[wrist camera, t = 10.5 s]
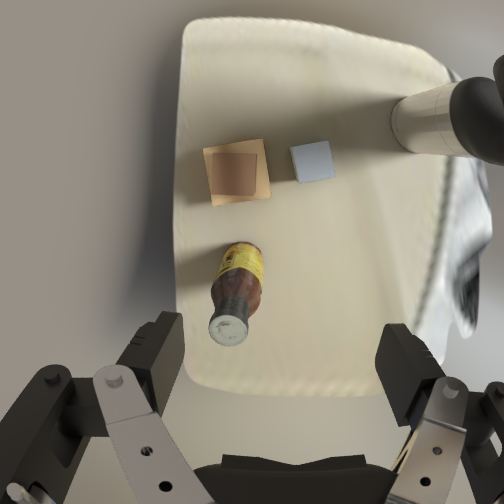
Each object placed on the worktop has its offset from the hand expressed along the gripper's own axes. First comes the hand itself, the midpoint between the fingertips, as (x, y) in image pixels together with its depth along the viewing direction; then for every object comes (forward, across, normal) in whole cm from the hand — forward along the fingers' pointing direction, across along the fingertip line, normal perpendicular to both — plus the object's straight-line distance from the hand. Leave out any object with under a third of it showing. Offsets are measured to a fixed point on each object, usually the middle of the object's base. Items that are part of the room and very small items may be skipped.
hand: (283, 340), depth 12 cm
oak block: (+36, +5, -4) cm, 37 cm away
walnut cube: (+31, +5, -4) cm, 32 cm away
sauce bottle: (+36, +4, +10) cm, 38 cm away
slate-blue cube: (+36, -5, -6) cm, 37 cm away
